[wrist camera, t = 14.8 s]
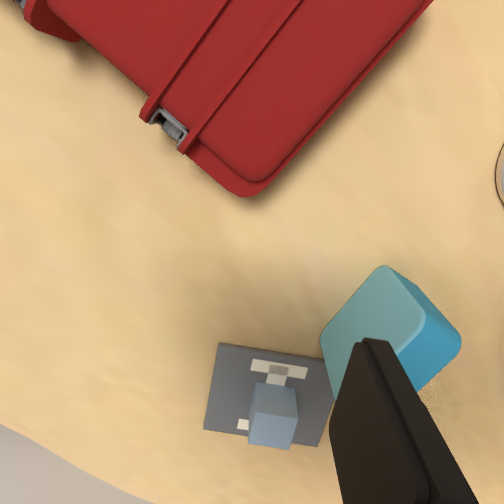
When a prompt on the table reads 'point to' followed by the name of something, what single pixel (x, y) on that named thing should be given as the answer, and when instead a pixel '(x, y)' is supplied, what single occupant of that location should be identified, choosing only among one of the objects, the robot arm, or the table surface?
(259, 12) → the first aid kit
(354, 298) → the data package
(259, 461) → the table surface
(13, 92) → the table surface
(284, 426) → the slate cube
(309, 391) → the letter mat
